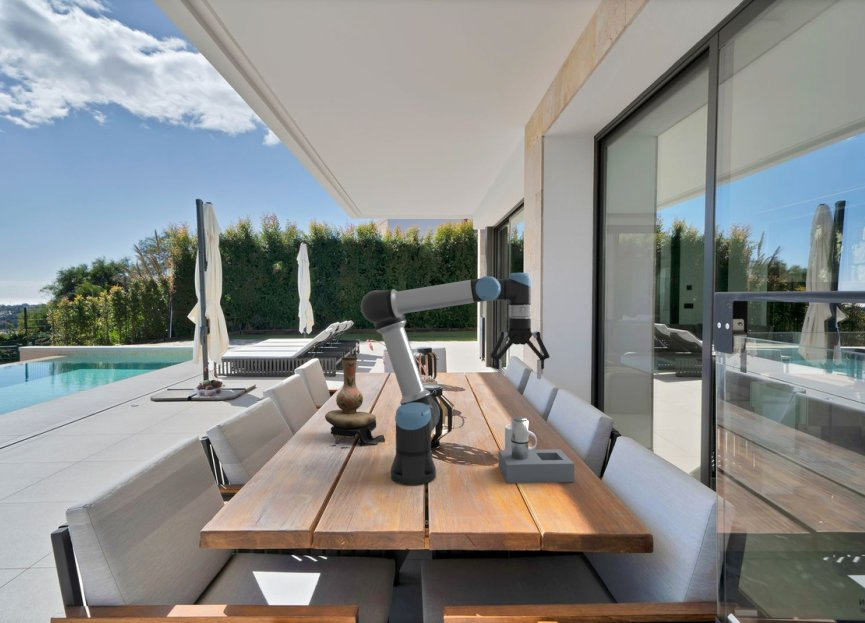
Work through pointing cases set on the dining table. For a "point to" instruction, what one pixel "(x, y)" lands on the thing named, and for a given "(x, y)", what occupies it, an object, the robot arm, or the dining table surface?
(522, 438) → the silver can
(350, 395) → the vase
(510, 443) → the mug
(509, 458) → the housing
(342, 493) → the dining table surface
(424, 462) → the robot arm
